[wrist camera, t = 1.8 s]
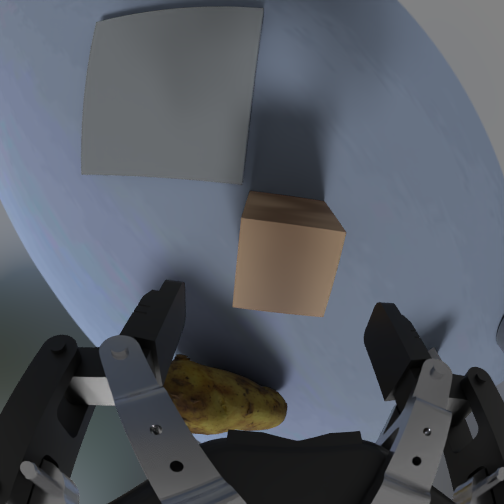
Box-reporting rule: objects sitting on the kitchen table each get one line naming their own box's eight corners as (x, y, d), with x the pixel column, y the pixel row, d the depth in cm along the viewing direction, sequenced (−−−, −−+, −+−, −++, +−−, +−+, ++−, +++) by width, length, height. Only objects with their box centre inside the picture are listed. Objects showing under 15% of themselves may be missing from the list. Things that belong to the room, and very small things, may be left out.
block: (324, 200, 18) (346, 232, 13) (310, 267, 21) (323, 317, 15) (249, 190, 19) (241, 217, 13) (242, 258, 21) (232, 307, 15)
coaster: (263, 12, 13) (263, 8, 12) (242, 182, 18) (241, 184, 17) (101, 24, 13) (96, 22, 13) (87, 172, 18) (81, 174, 18)
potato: (231, 414, 29) (223, 472, 22) (150, 344, 25) (121, 409, 18) (295, 393, 27) (298, 459, 19) (217, 310, 23) (197, 387, 15)
